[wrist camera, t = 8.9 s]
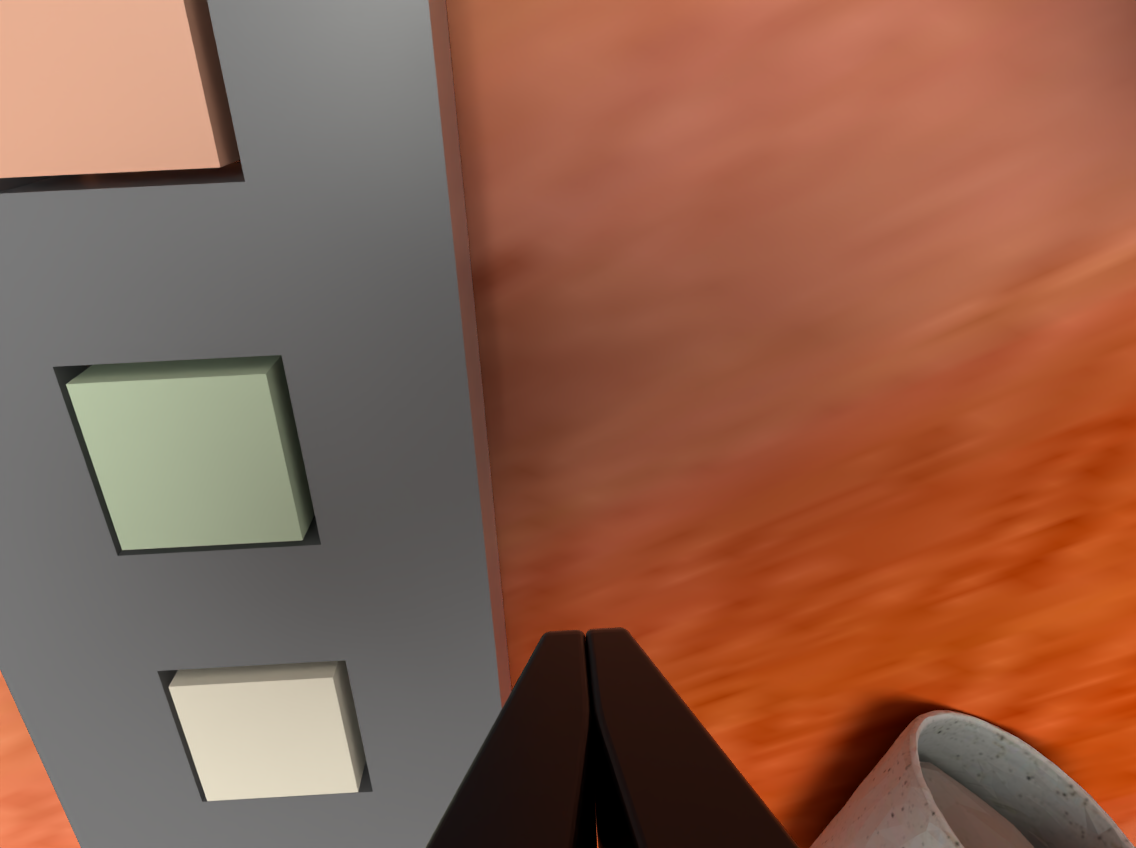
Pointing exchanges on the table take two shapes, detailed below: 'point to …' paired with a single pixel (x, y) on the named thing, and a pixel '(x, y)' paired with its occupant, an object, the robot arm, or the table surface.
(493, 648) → the console
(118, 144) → the terracotta button
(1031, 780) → the ceramic mug
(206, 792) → the cream button
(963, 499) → the table surface
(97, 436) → the sage button
